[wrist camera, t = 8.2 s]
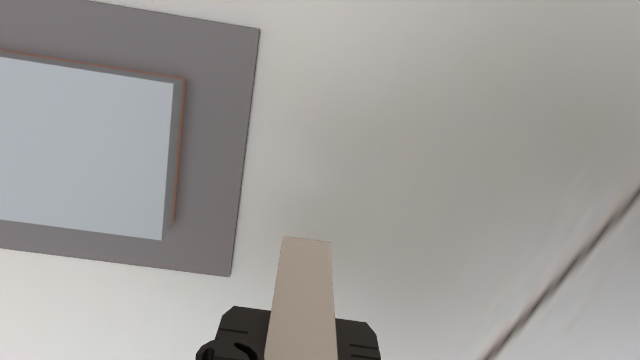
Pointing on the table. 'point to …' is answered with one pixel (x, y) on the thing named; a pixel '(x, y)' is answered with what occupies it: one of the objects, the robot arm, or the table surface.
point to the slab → (88, 145)
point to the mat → (197, 123)
